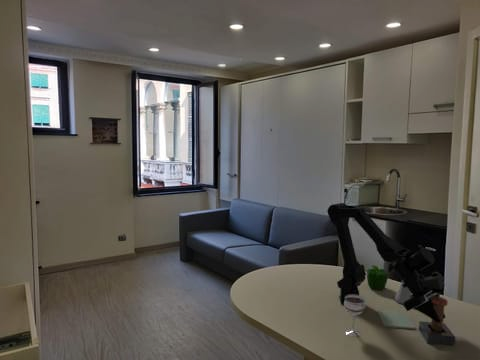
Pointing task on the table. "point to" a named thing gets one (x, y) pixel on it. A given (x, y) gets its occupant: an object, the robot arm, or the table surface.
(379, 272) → the bell pepper
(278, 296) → the table surface
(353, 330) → the wineglass
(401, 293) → the flask
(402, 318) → the green pad
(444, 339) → the eye block
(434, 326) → the walnut peg
